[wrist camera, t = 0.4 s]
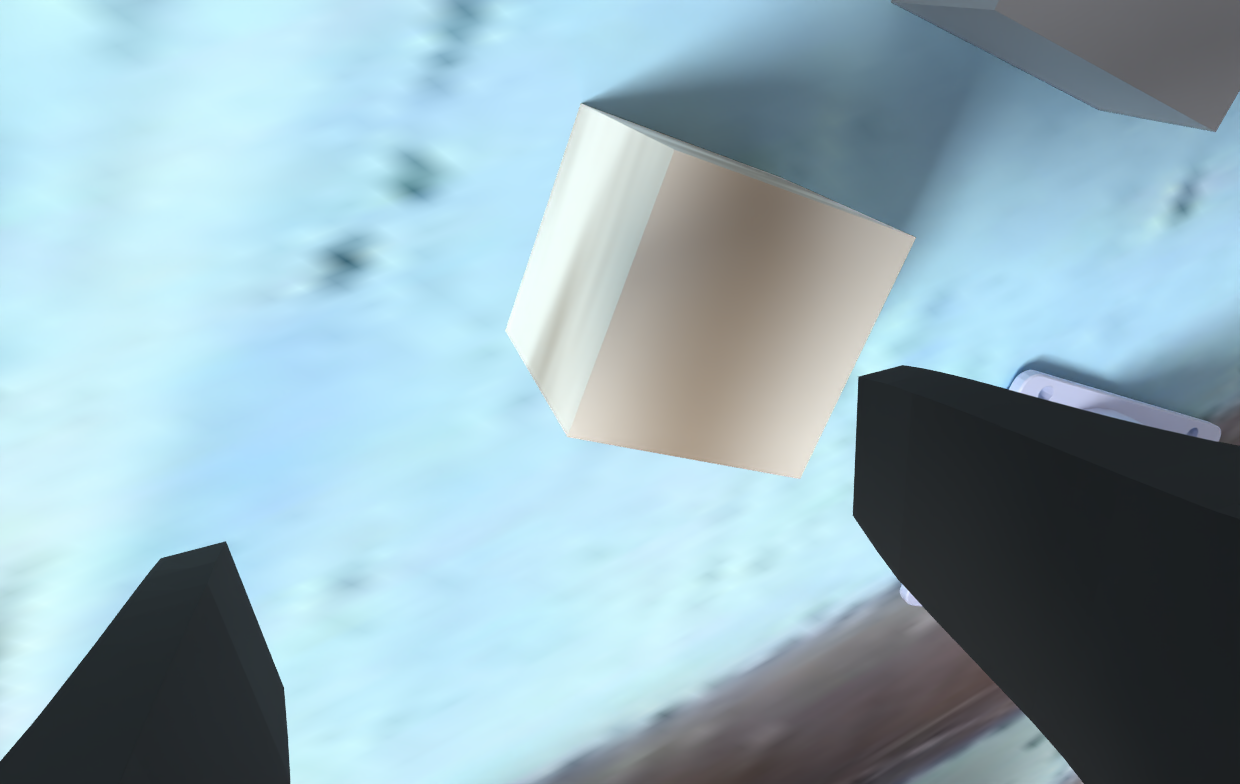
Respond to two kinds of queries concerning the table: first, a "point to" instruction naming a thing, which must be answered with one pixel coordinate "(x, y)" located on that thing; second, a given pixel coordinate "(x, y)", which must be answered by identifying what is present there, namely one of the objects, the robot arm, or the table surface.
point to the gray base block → (1111, 50)
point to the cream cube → (696, 300)
